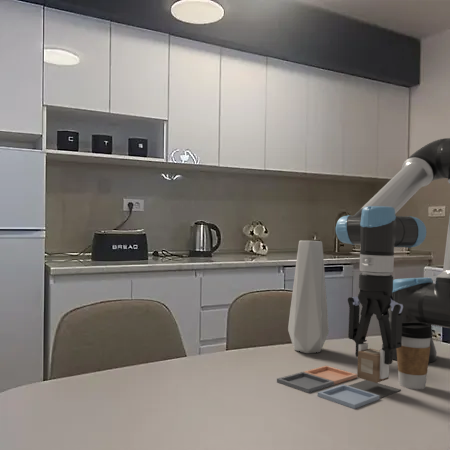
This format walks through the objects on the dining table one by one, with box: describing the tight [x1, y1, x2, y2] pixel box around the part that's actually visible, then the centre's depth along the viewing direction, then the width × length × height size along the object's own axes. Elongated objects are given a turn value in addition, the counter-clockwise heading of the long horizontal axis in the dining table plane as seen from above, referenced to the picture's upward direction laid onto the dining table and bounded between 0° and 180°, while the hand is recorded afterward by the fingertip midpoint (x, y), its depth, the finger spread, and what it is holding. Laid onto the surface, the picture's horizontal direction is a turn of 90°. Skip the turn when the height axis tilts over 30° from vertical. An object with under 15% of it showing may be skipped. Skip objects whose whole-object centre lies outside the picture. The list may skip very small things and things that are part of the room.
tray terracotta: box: [303, 365, 357, 386], centre depth 126 cm, size 9×9×1 cm
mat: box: [348, 379, 401, 400], centre depth 117 cm, size 9×9×1 cm
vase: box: [287, 239, 330, 354], centre depth 152 cm, size 12×12×33 cm
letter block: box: [356, 347, 390, 383], centre depth 116 cm, size 5×5×6 cm
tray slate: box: [316, 383, 380, 410], centre depth 110 cm, size 9×9×1 cm
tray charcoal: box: [276, 371, 335, 394], centre depth 119 cm, size 9×9×1 cm
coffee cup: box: [396, 322, 434, 390], centre depth 121 cm, size 8×8×15 cm
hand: (373, 374), depth 117 cm, fingers closed on letter block, 5 cm apart
